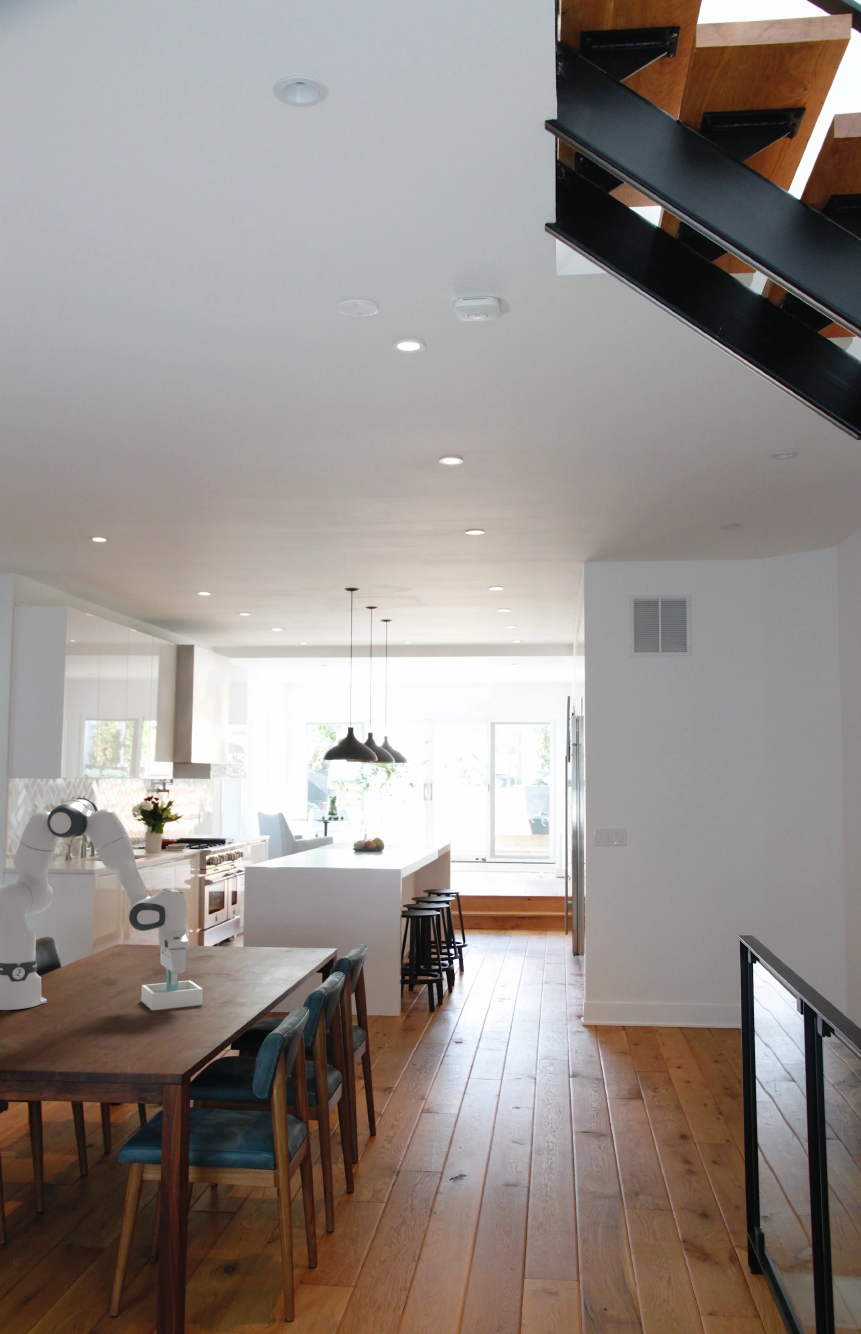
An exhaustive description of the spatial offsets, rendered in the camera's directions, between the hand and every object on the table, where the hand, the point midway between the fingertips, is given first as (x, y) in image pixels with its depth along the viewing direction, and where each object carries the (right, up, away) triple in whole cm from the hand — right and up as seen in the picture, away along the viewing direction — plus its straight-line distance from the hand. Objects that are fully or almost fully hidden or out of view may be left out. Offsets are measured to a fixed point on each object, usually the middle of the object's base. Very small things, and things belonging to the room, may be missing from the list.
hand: (171, 983), depth 335 cm
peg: (0, -4, 0) cm, 4 cm away
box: (0, -6, -1) cm, 6 cm away
